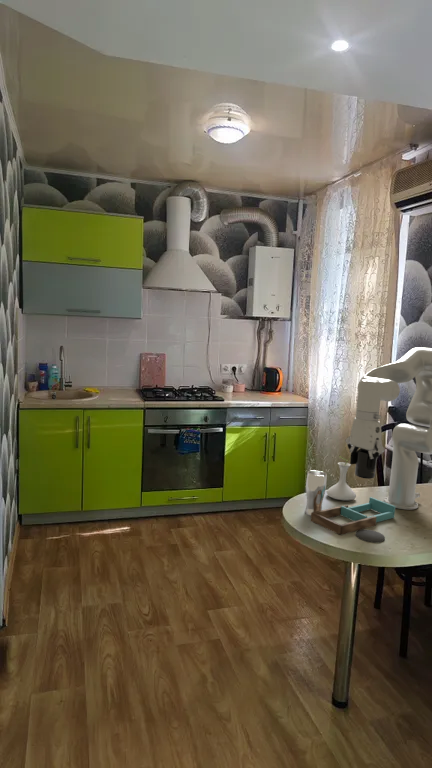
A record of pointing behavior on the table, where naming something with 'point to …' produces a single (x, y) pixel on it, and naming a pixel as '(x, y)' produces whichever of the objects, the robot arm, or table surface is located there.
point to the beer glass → (315, 491)
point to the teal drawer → (373, 504)
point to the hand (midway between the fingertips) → (362, 466)
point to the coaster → (370, 536)
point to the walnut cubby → (340, 529)
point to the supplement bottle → (363, 465)
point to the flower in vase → (342, 483)
